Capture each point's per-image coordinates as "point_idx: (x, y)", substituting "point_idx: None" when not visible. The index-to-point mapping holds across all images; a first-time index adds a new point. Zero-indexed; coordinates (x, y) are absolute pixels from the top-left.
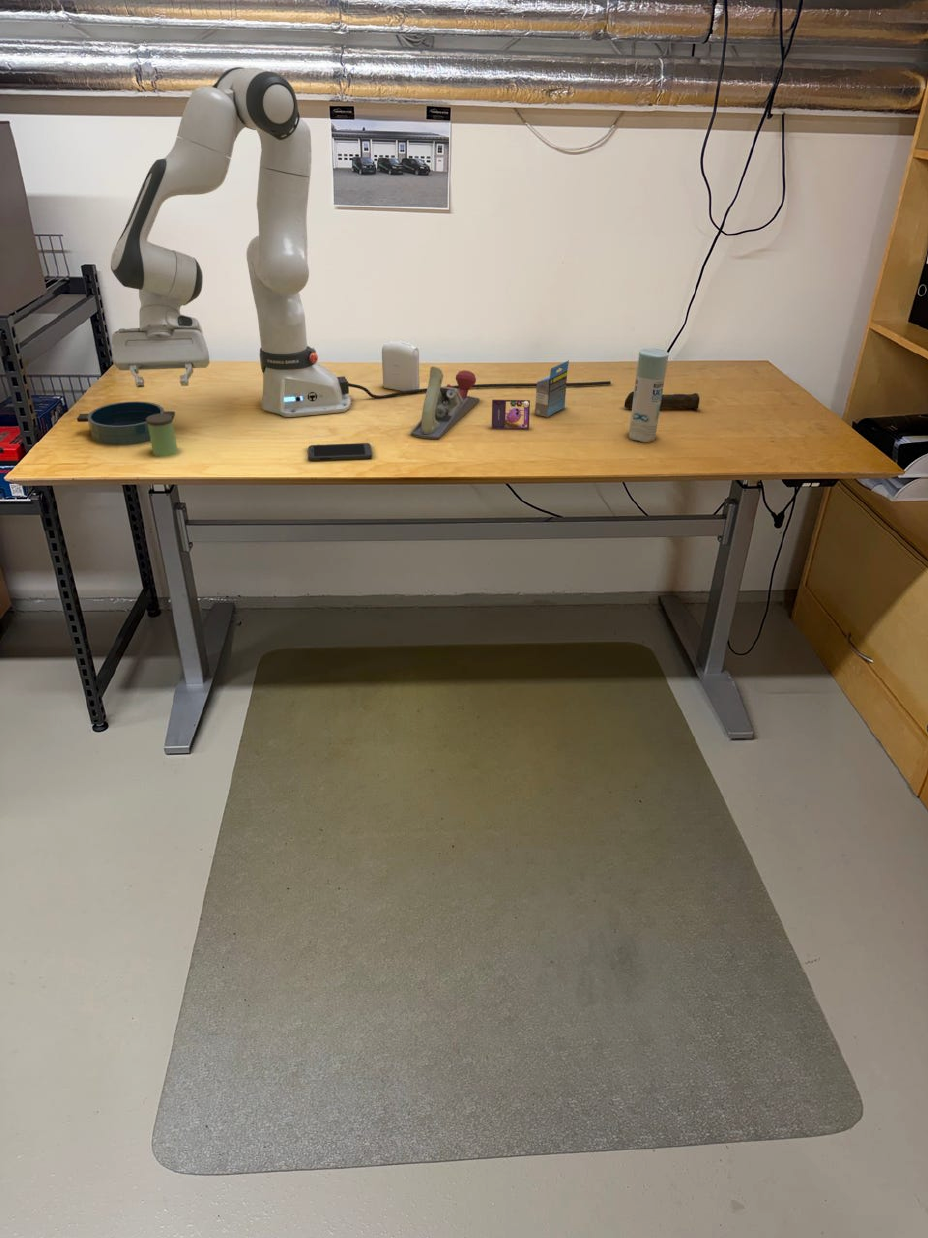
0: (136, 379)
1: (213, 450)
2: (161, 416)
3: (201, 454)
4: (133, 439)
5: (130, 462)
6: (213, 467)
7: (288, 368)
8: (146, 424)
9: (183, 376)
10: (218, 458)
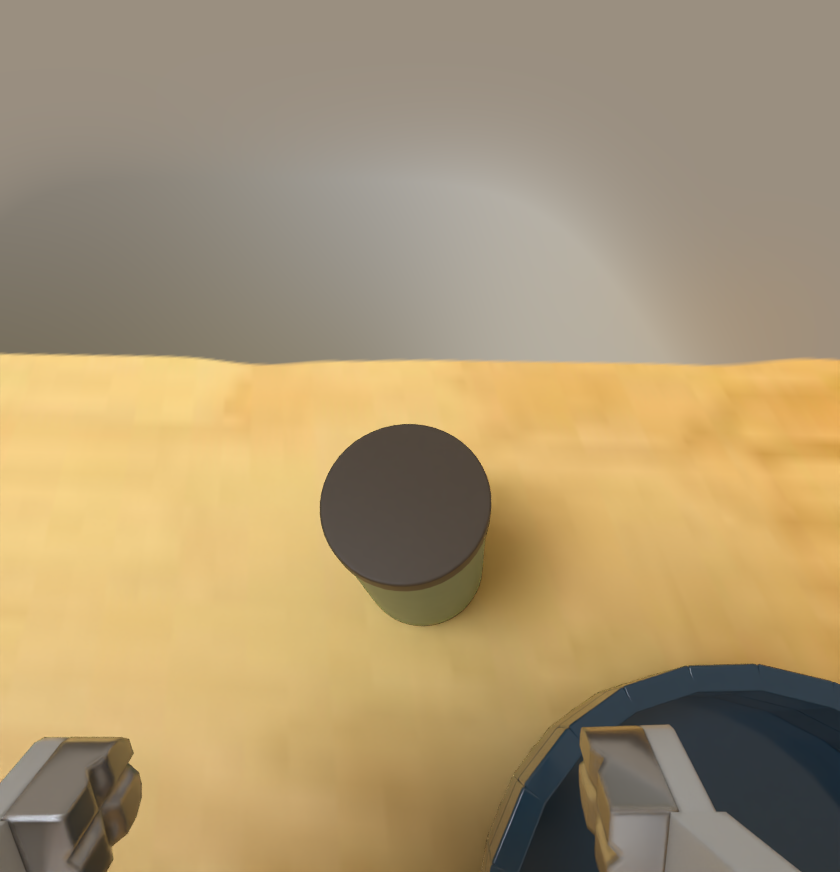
0: (678, 770)
1: (194, 584)
2: (392, 524)
3: (251, 537)
4: (623, 684)
5: (560, 459)
6: (207, 403)
7: None
8: (556, 738)
9: (27, 801)
10: (180, 488)
